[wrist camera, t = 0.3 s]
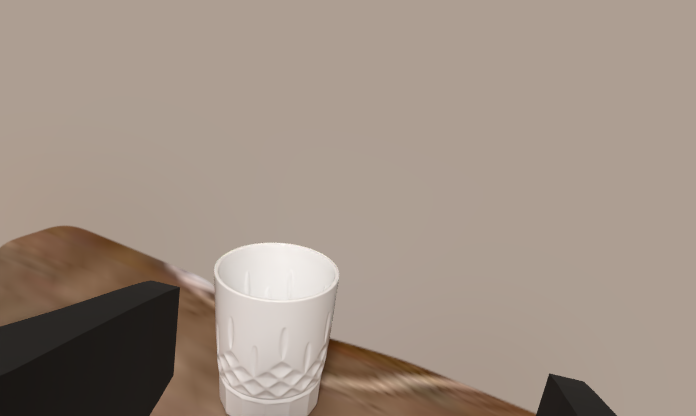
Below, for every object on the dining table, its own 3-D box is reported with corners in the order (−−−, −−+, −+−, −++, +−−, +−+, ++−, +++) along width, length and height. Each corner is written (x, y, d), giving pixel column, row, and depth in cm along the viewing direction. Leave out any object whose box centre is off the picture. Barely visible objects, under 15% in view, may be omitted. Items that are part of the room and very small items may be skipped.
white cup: (222, 357, 44) (225, 237, 40) (326, 364, 44) (338, 247, 41) (200, 433, 37) (201, 295, 33) (325, 441, 37) (340, 306, 34)
